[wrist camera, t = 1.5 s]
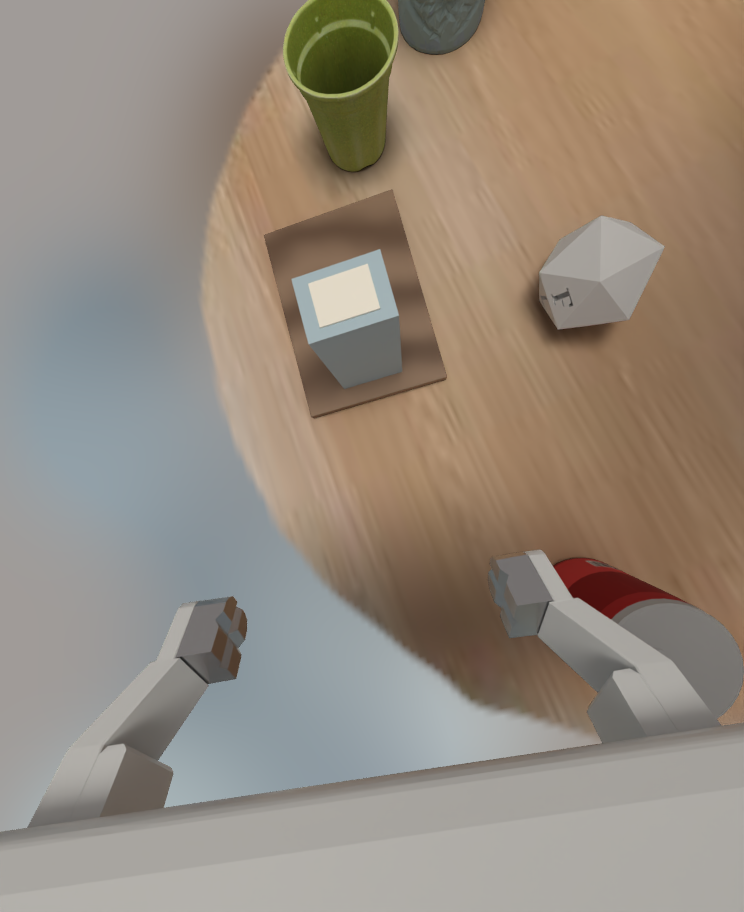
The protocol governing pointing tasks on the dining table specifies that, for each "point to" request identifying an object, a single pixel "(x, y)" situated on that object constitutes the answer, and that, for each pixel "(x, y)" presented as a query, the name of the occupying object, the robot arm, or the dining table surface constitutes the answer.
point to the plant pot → (344, 73)
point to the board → (383, 229)
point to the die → (597, 273)
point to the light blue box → (352, 319)
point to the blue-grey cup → (439, 23)
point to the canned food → (663, 627)
